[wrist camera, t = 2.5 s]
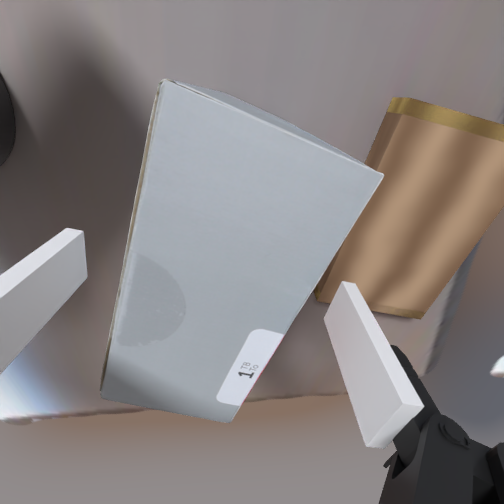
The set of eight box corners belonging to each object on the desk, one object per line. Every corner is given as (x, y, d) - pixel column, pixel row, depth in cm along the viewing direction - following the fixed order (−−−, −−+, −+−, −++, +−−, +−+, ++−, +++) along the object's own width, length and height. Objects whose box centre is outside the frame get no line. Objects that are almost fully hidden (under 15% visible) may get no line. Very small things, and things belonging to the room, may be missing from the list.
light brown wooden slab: (312, 286, 35) (317, 301, 33) (392, 97, 25) (409, 97, 22) (408, 303, 37) (420, 319, 35) (523, 134, 26) (553, 139, 24)
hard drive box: (238, 253, 33) (228, 428, 16) (176, 232, 31) (89, 401, 14) (295, 121, 26) (392, 177, 8) (218, 86, 24) (143, 68, 7)
